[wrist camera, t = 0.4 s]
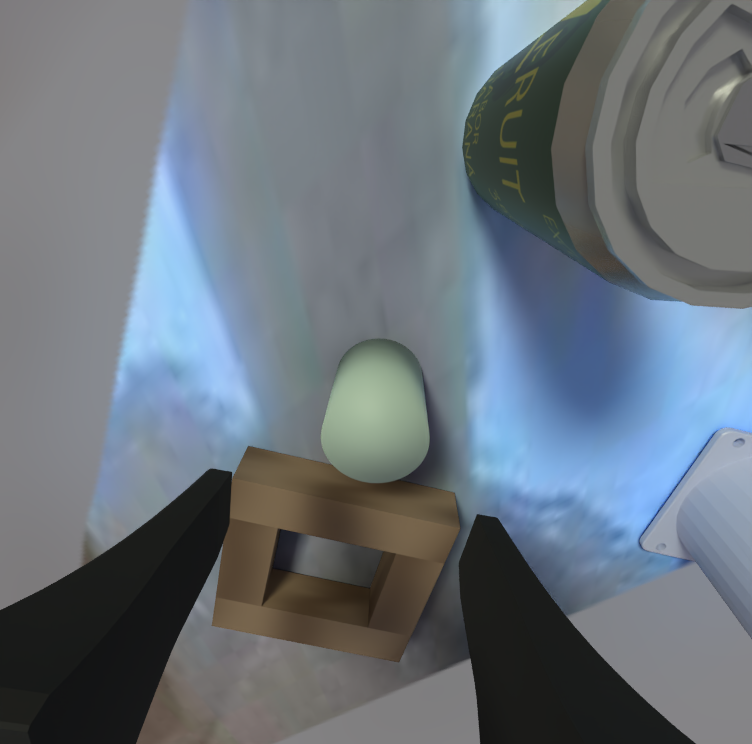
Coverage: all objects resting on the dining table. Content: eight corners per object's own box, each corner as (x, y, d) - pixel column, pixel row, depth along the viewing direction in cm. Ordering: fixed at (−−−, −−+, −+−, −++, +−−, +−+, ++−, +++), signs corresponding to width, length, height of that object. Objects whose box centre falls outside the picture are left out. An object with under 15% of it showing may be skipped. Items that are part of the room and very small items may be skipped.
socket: (454, 492, 24) (460, 528, 22) (398, 622, 29) (399, 662, 27) (248, 445, 23) (232, 478, 21) (226, 587, 28) (211, 625, 26)
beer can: (638, 71, 15) (1186, -101, 5) (574, 230, 18) (844, 355, 7) (486, 32, 15) (707, -247, 4) (442, 199, 18) (516, 281, 7)
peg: (433, 350, 20) (443, 407, 16) (408, 423, 22) (412, 492, 18) (346, 329, 20) (333, 380, 16) (329, 404, 22) (311, 470, 17)
